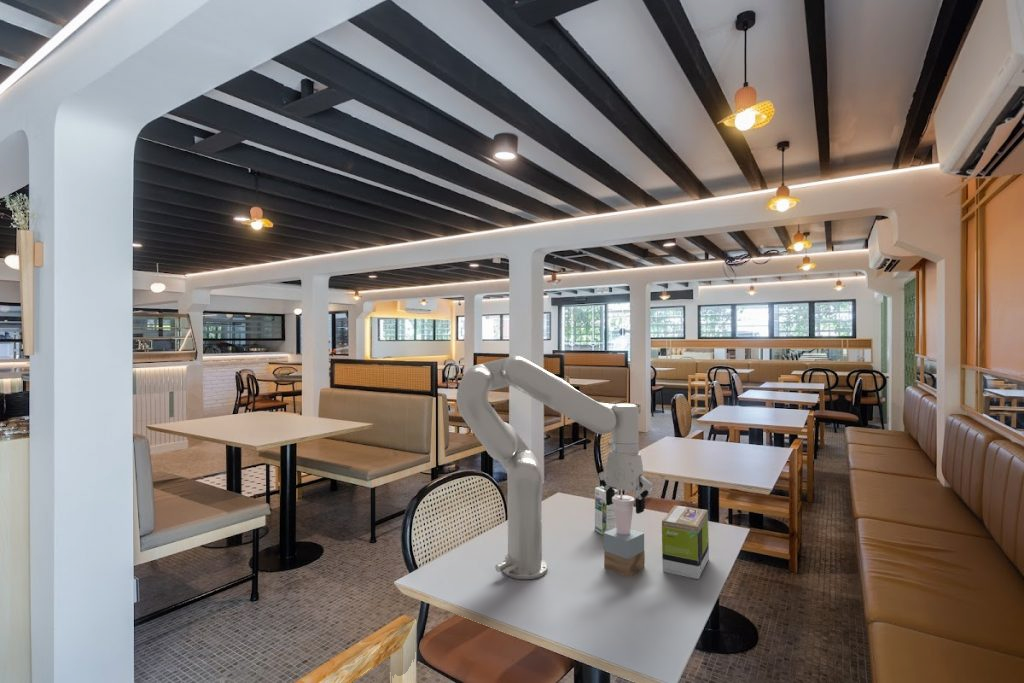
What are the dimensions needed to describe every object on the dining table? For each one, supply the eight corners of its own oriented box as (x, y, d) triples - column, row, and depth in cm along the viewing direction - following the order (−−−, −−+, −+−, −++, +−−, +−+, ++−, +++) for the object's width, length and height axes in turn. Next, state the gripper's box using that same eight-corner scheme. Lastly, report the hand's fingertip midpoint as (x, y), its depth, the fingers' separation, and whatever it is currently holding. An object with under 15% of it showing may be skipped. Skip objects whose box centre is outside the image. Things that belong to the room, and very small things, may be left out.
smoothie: (618, 526, 152) (618, 478, 152) (639, 531, 148) (638, 482, 147) (607, 532, 147) (607, 483, 147) (628, 538, 143) (628, 487, 143)
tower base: (628, 577, 141) (628, 559, 141) (604, 568, 147) (604, 550, 147) (644, 568, 147) (644, 550, 147) (620, 559, 153) (620, 542, 152)
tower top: (627, 559, 141) (627, 541, 141) (603, 550, 147) (603, 532, 147) (644, 550, 146) (644, 533, 146) (620, 542, 152) (620, 525, 152)
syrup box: (593, 530, 175) (593, 487, 174) (608, 527, 177) (608, 485, 177) (603, 536, 169) (603, 492, 169) (618, 533, 172) (618, 489, 172)
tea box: (674, 552, 157) (674, 503, 157) (709, 559, 152) (709, 509, 152) (661, 572, 144) (661, 519, 144) (699, 580, 139) (699, 525, 139)
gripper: (591, 445, 150) (591, 504, 150) (644, 455, 138) (644, 519, 138) (607, 441, 155) (607, 498, 156) (659, 450, 143) (659, 512, 143)
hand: (624, 508), depth 147 cm, fingers open, 9 cm apart
